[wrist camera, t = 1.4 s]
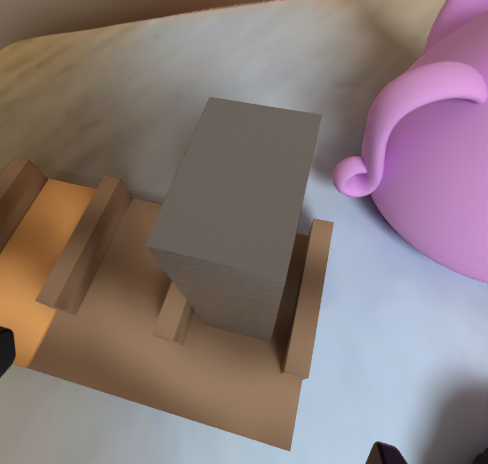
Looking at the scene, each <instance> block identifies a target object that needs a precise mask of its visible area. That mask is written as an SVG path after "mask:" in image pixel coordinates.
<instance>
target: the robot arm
mask: <svg viewBox="0 0 488 464" xmlns="http://www.w3.org/2000/svg"><path fill="white" fill-rule="evenodd" d="M15 357H16V350H15V340H14V333H13V331H12V330H11V329H9V328H6V327H2V326H0V378H1V376H2V375H3V374H4V373H5V372H6V371H7V370H8V368H9V367H10V366H11V365H12V363H13V362H14V360H15ZM366 464H408V463H407V462H406V460H405V459H404V457H403V456H402V454H401V453H400V451H399V450H398V449H397V448H396V447H394V446H392V445H389V444H385V443H382V442H375V443H374V445H373V447H372V449H371V452H370V454H369V456H368V459H367V461H366Z"/></svg>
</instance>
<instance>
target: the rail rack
mask: <svg viewBox="0 0 488 464" xmlns="http://www.w3.org/2000/svg"><path fill="white" fill-rule="evenodd" d="M162 206H163V204H158V203H153V202H149V201H144V200H140V199H135V198H133V197H132V195H131V194H130V192H129V191H128V189H127V188H126V186H125V185H124V183H123V181H122V180H121V178H117V177H112V176H107V175H104V177H103V179H102V181H101V182H100V184H99V186H98V188H97V189H94V188H90V187H85V186H80V185H76V184H71V183H66V182H62V181H57V180H52V179H48V178H47V177H46V176H45V175H44V174H43V173H42V172H41V171H40V170H39V169H38V168H37V167H36V166H35V165H34V164H33V163H32V162H31V161H30V160H29V159H25V158H20V157H15V156H14V157H13V159H12V160H11V161H10V163H9V164H8V166H7V167H6V168H5V170H4V171H3V172H2V174H1V175H0V326H2V327H6V328H9V329H11V330H12V331H13V333H14V340H15V350H16V357H15V360H14V362H13V363H12V364H16V365H19V366H22V367H25V368H30V369H33V370H36V371H39V372H42V373H45V374H48V375H52V376H55V377H58V378H61V379H64V380H67V381H70V382H74V383H77V384H80V385H83V386H86V387H89V388H92V389H96V390H99V391H102V392H105V393H108V394H111V395H115V396H118V397H121V398H124V399H127V400H130V401H133V402H137V403H140V404H143V405H146V406H149V407H152V408H155V409H159V410H162V411H165V412H168V413H171V414H174V415H177V416H181V417H184V418H187V419H190V420H193V421H196V422H199V423H203V424H206V425H209V426H212V427H215V428H218V429H221V430H225V431H228V432H231V433H234V434H237V435H240V436H244V437H247V438H250V439H253V440H256V441H259V442H262V443H266V444H269V445H272V446H275V447H278V448H281V449H284V450H288V451H290V449H291V443H292V437H293V431H294V425H295V419H296V413H297V407H298V401H299V395H300V389H301V384H302V380H303V379H306V378H308V377H309V371H310V365H311V359H312V353H313V347H314V340H315V334H316V328H317V322H318V316H319V309H320V303H321V297H322V291H323V285H324V278H325V272H326V266H327V260H328V254H329V247H330V241H331V235H332V229H333V223H334V222H329V221H324V220H319V219H314V220H313V223H312V226H311V229H310V232H309V235H308V236H306V235H302V234H297V233H296V236H295V240H294V245H293V250H292V254H291V259H290V263H289V268H288V273H287V277H286V282H285V286H284V290H283V293H282V297H281V301H280V305H279V309H278V313H277V317H276V321H275V325H274V329H273V333H272V337H271V341H270V342H266V341H262V340H259V339H255V338H251V337H248V336H244V335H240V334H236V333H233V332H229V331H225V330H222V329H218V328H214V327H211V326H207V325H206V324H205V323H204V322H203V320H202V319H201V318H200V316H199V315H198V314H197V313H196V311H195V310H194V309H193V307H192V306H191V305H190V303H189V302H188V301H187V300H186V298H185V297H184V296H183V294H182V293H181V292H180V290H179V289H178V288H177V286H176V285H175V284H174V283H173V281H172V280H171V279H170V277H169V276H168V275H167V273H166V272H165V271H164V270H163V268H162V267H161V266H160V264H159V263H158V262H157V260H156V259H155V258H154V257H153V255H152V254H151V253H150V251H149V250H148V249H147V247H146V246H145V245H146V242H147V240H148V238H149V236H150V233H151V231H152V229H153V226H154V224H155V222H156V219H157V217H158V215H159V213H160V210H161V208H162Z"/></svg>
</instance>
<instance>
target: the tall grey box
mask: <svg viewBox="0 0 488 464" xmlns="http://www.w3.org/2000/svg"><path fill="white" fill-rule="evenodd" d="M320 120H321V115H319V114H312V113H306V112H300V111H294V110H287V109H281V108H275V107H269V106H262V105H256V104H250V103H243V102H237V101H231V100H225V99H218V98H212V97H210V98H209V100H208V102H207V105H206V107H205V109H204V112H203V114H202V116H201V118H200V121H199V123H198V125H197V128H196V130H195V132H194V135H193V137H192V139H191V141H190V144H189V146H188V148H187V151H186V153H185V155H184V157H183V160H182V162H181V164H180V167H179V169H178V171H177V174H176V176H175V178H174V180H173V183H172V185H171V187H170V190H169V192H168V194H167V197H166V199H165V201H164V203H163V206H162V208H161V210H160V213H159V215H158V217H157V219H156V222H155V224H154V226H153V229H152V231H151V233H150V236H149V238H148V240H147V242H146V245H145V246H146V247H147V249H148V250H149V251H150V253H151V254H152V255H153V257H154V258H155V259H156V260H157V262H158V263H159V264H160V266H161V267H162V268H163V270H164V271H165V272H166V273H167V275H168V276H169V277H170V279H171V280H172V281H173V283H174V284H175V285H176V286H177V288H178V289H179V290H180V292H181V293H182V294H183V296H184V297H185V298H186V300H187V301H188V302H189V303H190V305H191V306H192V307H193V309H194V310H195V311H196V313H197V314H198V315H199V316H200V318H201V319H202V320H203V322H204V323H205V324H206V325H207V326H211V327H214V328H218V329H222V330H225V331H229V332H233V333H236V334H240V335H244V336H248V337H251V338H255V339H259V340H262V341H266V342H270V341H271V337H272V333H273V329H274V325H275V321H276V317H277V313H278V309H279V305H280V301H281V297H282V293H283V290H284V286H285V282H286V277H287V273H288V268H289V263H290V259H291V254H292V250H293V245H294V240H295V236H296V231H297V226H298V222H299V217H300V212H301V208H302V203H303V199H304V194H305V189H306V185H307V180H308V175H309V171H310V166H311V161H312V157H313V152H314V147H315V143H316V138H317V134H318V129H319V124H320Z"/></svg>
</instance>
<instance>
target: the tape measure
mask: <svg viewBox="0 0 488 464" xmlns="http://www.w3.org/2000/svg"><path fill="white" fill-rule="evenodd" d="M472 464H488V448H487V449H485V452H484V453H482V454H479V455H478V456H477V457H476V458H475V459H474V461H473V462H472Z"/></svg>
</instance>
